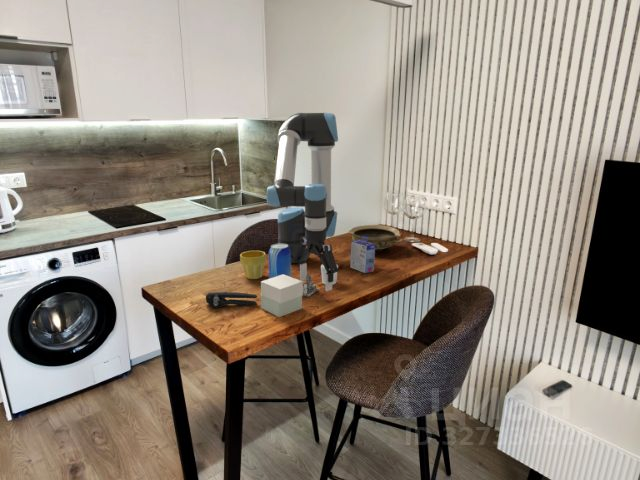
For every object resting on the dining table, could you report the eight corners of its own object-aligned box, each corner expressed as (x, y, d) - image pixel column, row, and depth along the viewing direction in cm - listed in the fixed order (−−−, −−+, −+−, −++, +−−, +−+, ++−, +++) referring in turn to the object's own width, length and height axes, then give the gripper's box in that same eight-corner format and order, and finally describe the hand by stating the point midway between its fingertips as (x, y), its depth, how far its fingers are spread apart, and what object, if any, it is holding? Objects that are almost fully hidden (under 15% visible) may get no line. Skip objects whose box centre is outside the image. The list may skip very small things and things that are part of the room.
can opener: (204, 311, 146) (203, 295, 144) (207, 302, 152) (206, 287, 151) (257, 309, 147) (256, 293, 146) (258, 300, 154) (257, 286, 152)
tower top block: (261, 295, 146) (260, 281, 145) (283, 287, 153) (283, 274, 152) (280, 303, 139) (280, 289, 138) (302, 295, 146) (302, 281, 145)
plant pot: (239, 273, 180) (238, 251, 177) (263, 271, 183) (262, 249, 181) (243, 282, 171) (242, 258, 168) (269, 279, 174) (268, 256, 171)
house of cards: (301, 285, 168) (301, 267, 166) (320, 289, 164) (320, 270, 162) (288, 293, 161) (288, 274, 159) (308, 298, 156) (308, 278, 154)
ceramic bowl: (335, 250, 213) (335, 230, 210) (361, 240, 231) (362, 221, 229) (388, 262, 195) (389, 240, 192) (412, 250, 213) (413, 230, 211)
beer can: (282, 290, 162) (281, 250, 158) (265, 286, 167) (263, 246, 162) (295, 283, 169) (294, 244, 165) (278, 279, 173) (277, 241, 169)
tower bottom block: (260, 308, 148) (260, 295, 146) (283, 300, 154) (283, 287, 153) (278, 318, 141) (278, 303, 139) (302, 309, 147) (301, 295, 146)
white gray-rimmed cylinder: (325, 286, 166) (325, 269, 164) (317, 280, 172) (317, 264, 170) (341, 283, 169) (341, 266, 168) (332, 278, 175) (332, 261, 173)
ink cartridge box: (375, 271, 183) (376, 238, 179) (365, 274, 180) (366, 240, 176) (359, 265, 191) (359, 233, 187) (349, 267, 188) (350, 235, 184)
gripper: (284, 224, 157) (286, 278, 163) (333, 236, 140) (332, 297, 146) (300, 221, 162) (300, 274, 168) (348, 233, 145) (347, 291, 151)
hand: (315, 285), depth 157 cm, fingers open, 13 cm apart
